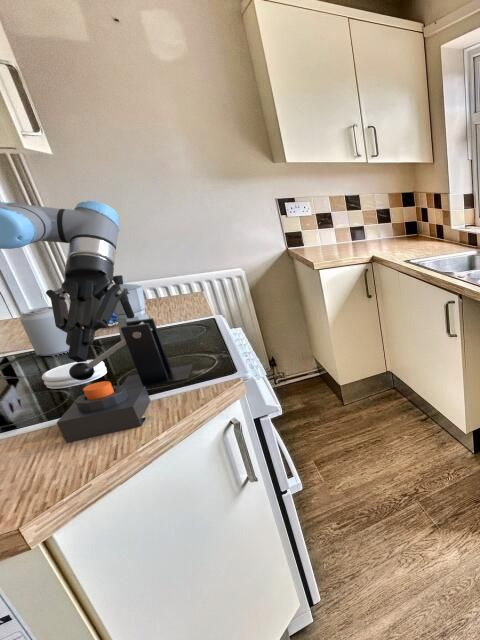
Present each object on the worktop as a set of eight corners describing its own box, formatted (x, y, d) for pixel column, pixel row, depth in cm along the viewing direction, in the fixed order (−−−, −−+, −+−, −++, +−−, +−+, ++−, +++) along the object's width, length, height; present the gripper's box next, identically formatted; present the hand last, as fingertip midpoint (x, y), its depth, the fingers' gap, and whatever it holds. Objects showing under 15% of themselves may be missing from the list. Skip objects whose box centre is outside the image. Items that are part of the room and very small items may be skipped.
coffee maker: (119, 335, 123) (95, 275, 117) (157, 328, 128) (136, 270, 122) (119, 349, 113) (93, 283, 106) (160, 340, 118) (138, 277, 111)
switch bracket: (118, 397, 86) (92, 334, 81) (130, 380, 94) (106, 322, 89) (189, 383, 92) (168, 323, 87) (194, 368, 99) (176, 312, 94)
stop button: (84, 402, 73) (79, 392, 72) (91, 394, 76) (86, 384, 75) (111, 397, 74) (106, 387, 74) (117, 389, 77) (112, 379, 76)
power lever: (79, 386, 85) (60, 374, 83) (85, 379, 88) (67, 368, 86) (152, 335, 88) (136, 322, 86) (156, 330, 91) (140, 318, 89)
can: (40, 352, 112) (19, 309, 108) (78, 345, 117) (60, 303, 112) (35, 360, 107) (13, 315, 102) (75, 352, 111) (56, 309, 107)
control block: (66, 443, 71) (51, 412, 69) (85, 419, 78) (72, 390, 76) (141, 426, 75) (129, 397, 73) (152, 405, 83) (141, 377, 81)
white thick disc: (105, 368, 100) (99, 355, 99) (112, 380, 94) (106, 366, 93) (45, 384, 93) (38, 369, 92) (49, 397, 87) (42, 382, 86)
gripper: (136, 270, 99) (127, 361, 90) (66, 275, 95) (50, 371, 87) (116, 250, 92) (104, 346, 84) (40, 256, 89) (20, 357, 80)
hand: (77, 359), depth 85 cm, fingers closed
